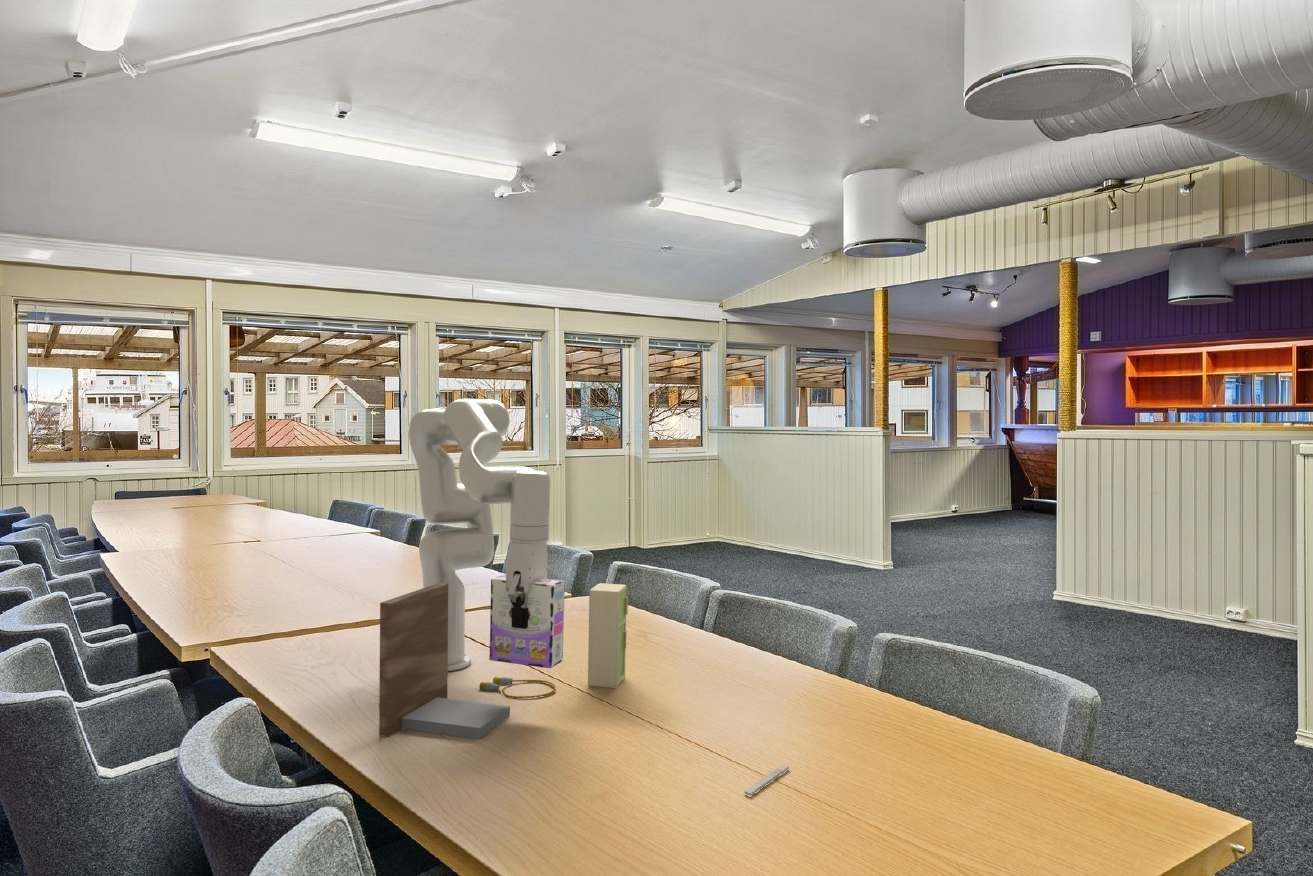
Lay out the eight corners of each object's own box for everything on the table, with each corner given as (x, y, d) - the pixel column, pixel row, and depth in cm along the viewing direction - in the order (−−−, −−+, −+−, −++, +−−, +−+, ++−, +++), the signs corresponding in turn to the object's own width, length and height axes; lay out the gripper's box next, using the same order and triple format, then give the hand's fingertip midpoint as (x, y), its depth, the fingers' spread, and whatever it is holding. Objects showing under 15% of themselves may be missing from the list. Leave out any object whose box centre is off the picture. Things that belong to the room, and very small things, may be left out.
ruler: (750, 799, 123) (750, 793, 123) (744, 797, 124) (744, 791, 124) (788, 772, 133) (788, 766, 133) (782, 770, 134) (782, 764, 134)
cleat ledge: (401, 728, 149) (401, 718, 149) (436, 707, 161) (436, 697, 161) (479, 739, 145) (479, 728, 145) (509, 716, 156) (509, 706, 156)
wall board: (379, 735, 146) (380, 602, 145) (438, 700, 165) (439, 582, 165) (388, 736, 145) (389, 603, 145) (447, 701, 164) (448, 583, 164)
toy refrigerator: (620, 689, 173) (621, 591, 173) (587, 686, 175) (588, 589, 175) (628, 677, 181) (630, 584, 181) (597, 675, 183) (598, 582, 182)
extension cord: (518, 677, 182) (518, 668, 182) (567, 692, 172) (567, 683, 172) (474, 690, 173) (474, 681, 173) (523, 707, 163) (524, 697, 163)
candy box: (564, 661, 161) (566, 579, 160) (550, 670, 155) (553, 585, 154) (502, 652, 165) (505, 572, 165) (487, 660, 160) (490, 577, 159)
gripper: (530, 526, 168) (528, 611, 169) (491, 538, 152) (489, 632, 153) (564, 528, 166) (561, 615, 167) (528, 541, 150) (525, 637, 150)
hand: (527, 622), depth 160 cm, fingers closed on candy box, 6 cm apart
